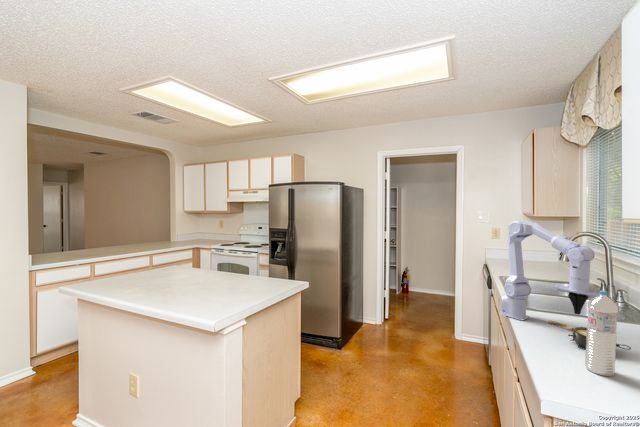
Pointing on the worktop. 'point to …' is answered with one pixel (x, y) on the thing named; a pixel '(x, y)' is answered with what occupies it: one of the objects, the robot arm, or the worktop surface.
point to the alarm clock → (584, 337)
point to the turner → (562, 325)
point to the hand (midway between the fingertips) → (577, 313)
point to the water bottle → (601, 335)
